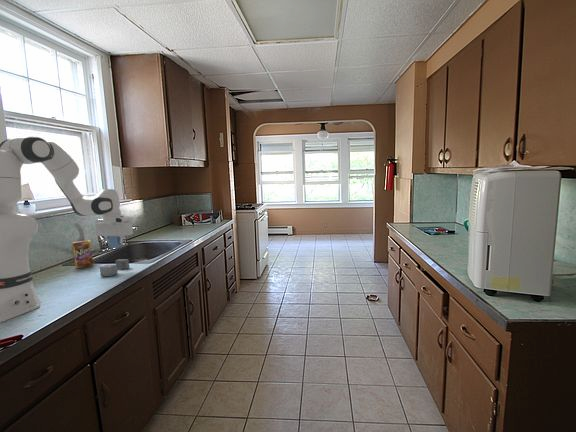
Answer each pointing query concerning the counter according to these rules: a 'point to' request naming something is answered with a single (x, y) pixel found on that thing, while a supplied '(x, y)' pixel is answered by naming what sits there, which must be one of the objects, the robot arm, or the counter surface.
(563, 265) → the counter surface
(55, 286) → the counter surface
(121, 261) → the block
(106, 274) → the sliding jaw
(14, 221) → the robot arm
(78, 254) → the candy box
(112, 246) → the blue block
